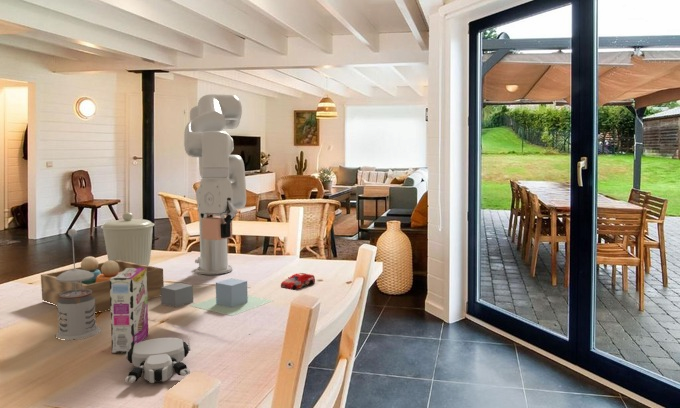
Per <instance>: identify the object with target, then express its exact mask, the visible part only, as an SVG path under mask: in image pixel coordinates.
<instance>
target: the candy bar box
mask: <svg viewBox="0 0 680 408" xmlns="http://www.w3.org/2000/svg"><path fill="white" fill-rule="evenodd" d="M109 280H110V306H111V310H110V324H111V325H110V328H111V329H110V331H111V332H110V334H111V338H110V339H111V354H126V353H127V343H128V352H129V350H130V349H131V348H132V347H134V344H137V343H139V342H141V341H145V340H146V338H147V337H148V336H149V313H148V312H149V311H148V305H149V304H148V299H147V268H126V269H124V270H123V271H121V272H120V273H118V274H117V275H115V276H113V277H112V278H110V279H109Z"/></svg>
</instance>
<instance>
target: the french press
mask: <svg viewBox="0 0 680 408" xmlns="http://www.w3.org/2000/svg"><path fill="white" fill-rule="evenodd" d="M77 234H78V231H77V229H75V228H72V229H71V228H70V229H69V230H68V231H67V235H71V240H72V241H71V242H72V258H73V259H72V261H73V268H74V269H73V268H72V269H73V270H68V269H67V270H68V271H66V272H64V273H62V274H60V275H59V276H58V277H56V280H57V281H59V282H72V283H73V288H74V290H71V291H70V290H69V291H67V292H66V291H65V292H63V293H61V294H59V297H60V298H62V299H60V300H58V301H57V306H56V308H57V316H58V317H57V318H58V320H57V321H58V331H57V333H56V334H55V335H56V337H57V338H60V339H65V340H64V341H74V340H73V339H78V340H82V339H81V338H83V339H87V338H86V337H88V338H90V336H91V337H93V335H94V336H96V335H97V334H99V333H100V332H101V330H100V329H101V328H100V327H99V326H98V325H97V320H96V318H97V317H96V314H95V312H94V311H95V297H94V296H91V294H92V292H93V291H92V290H89V289H86V290H85V289H82V282H81V281H84V280H88V279H91V278H93V277H94V274H93V273H91V272H89V271H86V270H80V269H75V268H76V262H75V247H74V246H75V244H74V235H77ZM79 281H80V282H79ZM74 282H75V283H74ZM76 282H79V283H76ZM80 283H81V290H80V289H79V290H77V289H76V284H80ZM74 285H75V286H74ZM76 298H79V303H77V304H76ZM93 307H94V308H93ZM91 311H92V312H91ZM93 312H94V313H93ZM63 320H64V321H63ZM95 334H96V335H95ZM69 339H70V340H69Z"/></svg>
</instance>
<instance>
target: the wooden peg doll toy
mask: <svg viewBox="0 0 680 408" xmlns="http://www.w3.org/2000/svg"><path fill="white" fill-rule="evenodd" d="M103 263H104V262H103ZM98 265H99V261H98V259H97V258H96V257H94V256H90V255H89V256H86V257H84V258H82V260H81V263H80V267H81V268H82V270H86V271H89V272H91V273H93V274H94V277H93V278H91V279H88V280H84V281H81V282H82V283H83V284H87V285H89V284H93V283H97V282H102V281H106V280H109V279H110V278H112V277H113V276H115V275H117V274H118V273H120V272H119V265H118V263H117V262H115V261H111V260H110V261H108V260H107V261H105V263H104V264H103V265H102V267H101V271H102V273H103V274H101V272H100V270H97V268H98ZM79 282H80V281H79Z"/></svg>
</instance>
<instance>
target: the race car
mask: <svg viewBox="0 0 680 408" xmlns="http://www.w3.org/2000/svg"><path fill="white" fill-rule="evenodd" d="M315 283H316V279H315V275H314V274H310V273H303V272H302V273H301V272H298V273H294V274H292V275H291V276H289V277H287V279H285V280H283V281H281V283H280V289H285V290H290V291H291V290H292V291H296V290H298V289H301V288H304V287H308V286H312V285H313V284H315Z"/></svg>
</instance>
